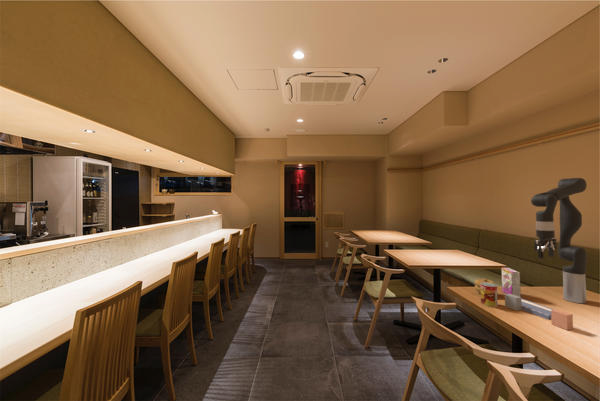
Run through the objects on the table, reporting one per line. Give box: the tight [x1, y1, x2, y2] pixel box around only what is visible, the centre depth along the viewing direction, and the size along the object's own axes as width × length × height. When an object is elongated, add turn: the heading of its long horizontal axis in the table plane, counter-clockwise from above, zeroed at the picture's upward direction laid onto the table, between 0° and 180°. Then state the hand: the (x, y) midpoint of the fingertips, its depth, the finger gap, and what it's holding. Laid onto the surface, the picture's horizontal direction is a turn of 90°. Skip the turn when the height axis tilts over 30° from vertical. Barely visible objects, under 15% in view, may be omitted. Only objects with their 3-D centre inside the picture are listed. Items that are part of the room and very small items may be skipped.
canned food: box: [480, 282, 498, 308], centre depth 146 cm, size 8×8×12 cm
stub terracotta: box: [550, 308, 574, 331], centre depth 119 cm, size 4×6×7 cm, turn 15°
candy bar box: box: [501, 267, 522, 298], centre depth 160 cm, size 11×5×16 cm, turn 168°
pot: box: [474, 278, 496, 294], centre depth 162 cm, size 12×12×10 cm
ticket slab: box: [521, 297, 555, 321], centre depth 138 cm, size 12×20×2 cm, turn 15°
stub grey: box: [504, 293, 523, 311], centre depth 140 cm, size 4×6×7 cm, turn 15°
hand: (546, 257), depth 139 cm, fingers open, 8 cm apart
